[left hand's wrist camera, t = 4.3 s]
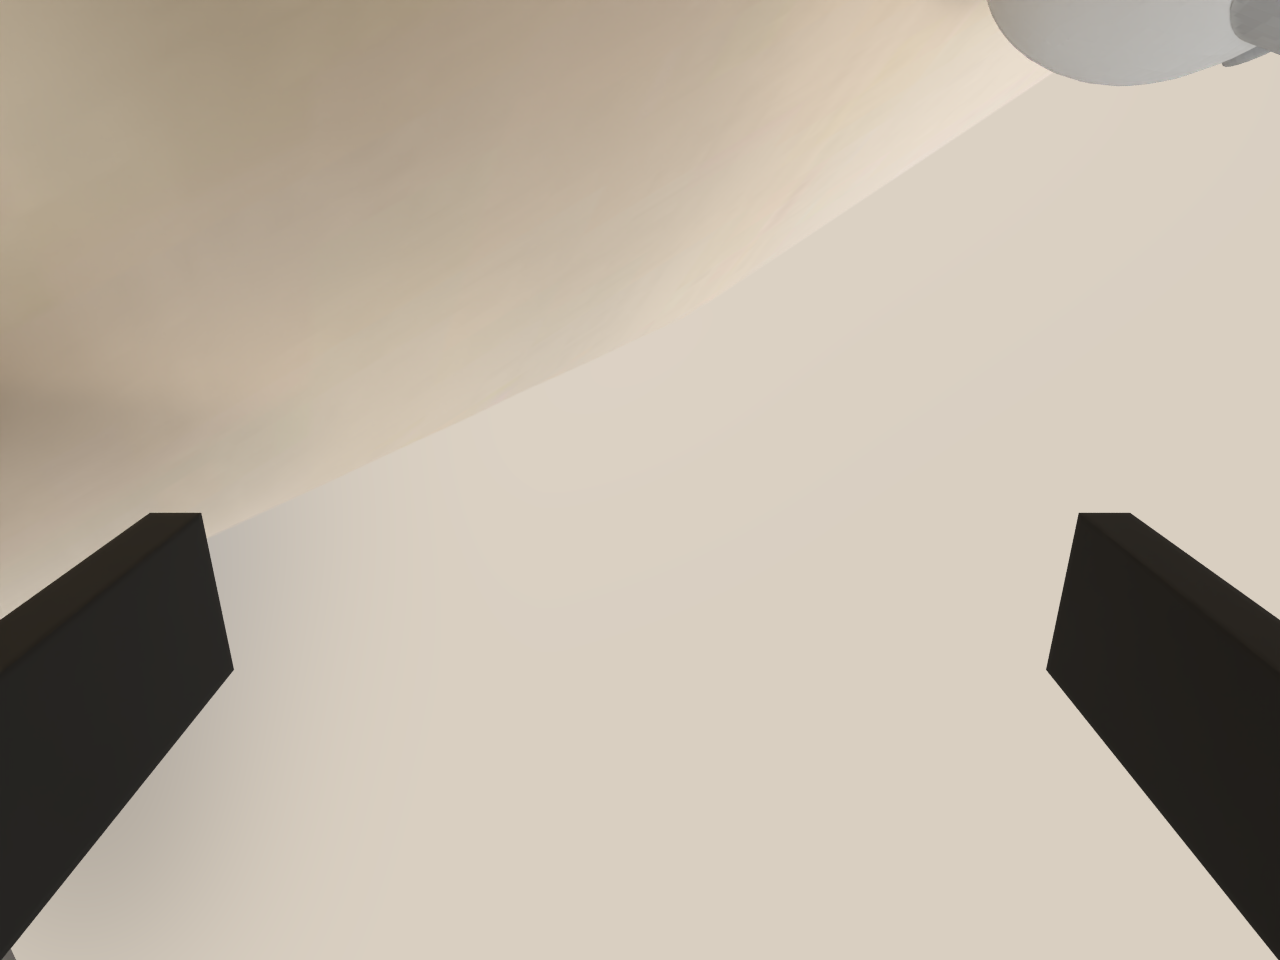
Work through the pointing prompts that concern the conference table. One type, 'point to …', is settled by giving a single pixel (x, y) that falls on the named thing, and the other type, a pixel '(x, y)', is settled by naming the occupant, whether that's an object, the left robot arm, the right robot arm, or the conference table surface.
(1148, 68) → the projector
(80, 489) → the conference table surface
